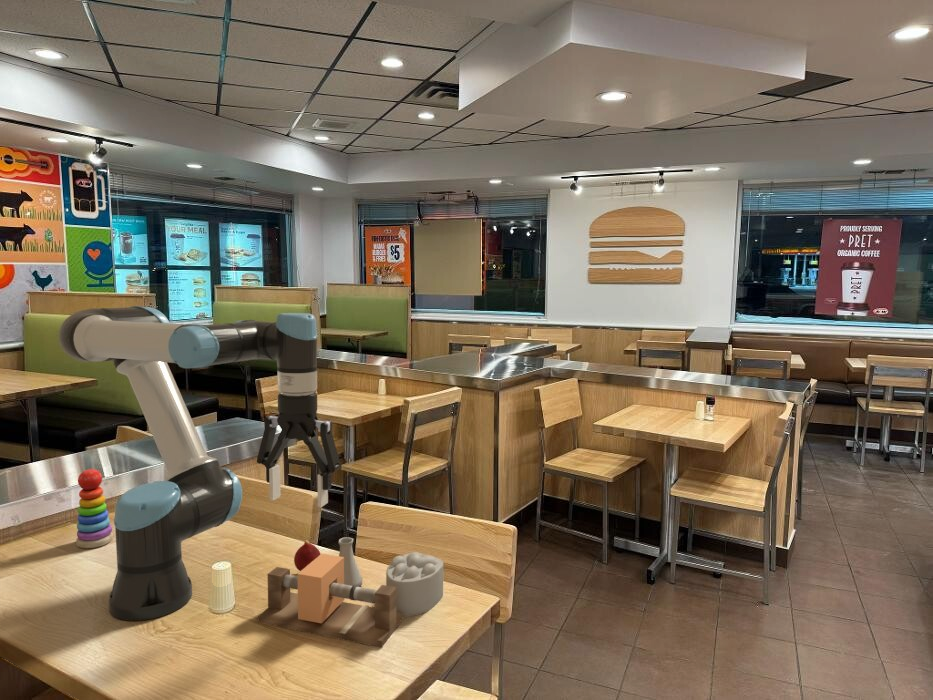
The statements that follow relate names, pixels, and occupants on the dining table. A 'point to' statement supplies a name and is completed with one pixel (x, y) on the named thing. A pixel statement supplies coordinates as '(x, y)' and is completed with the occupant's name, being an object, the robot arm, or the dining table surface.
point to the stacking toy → (92, 512)
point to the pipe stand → (344, 620)
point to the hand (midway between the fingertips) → (298, 501)
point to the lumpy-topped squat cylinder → (416, 582)
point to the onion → (305, 555)
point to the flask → (349, 563)
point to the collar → (319, 588)
